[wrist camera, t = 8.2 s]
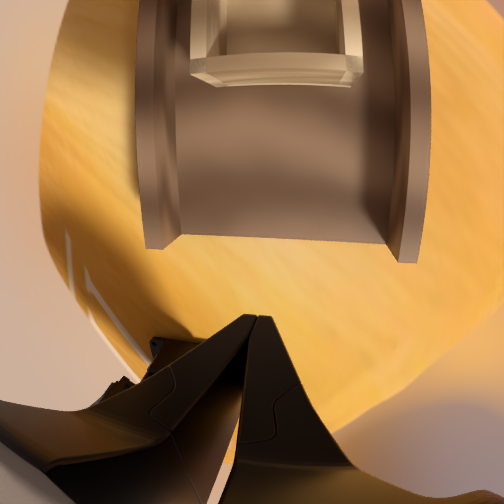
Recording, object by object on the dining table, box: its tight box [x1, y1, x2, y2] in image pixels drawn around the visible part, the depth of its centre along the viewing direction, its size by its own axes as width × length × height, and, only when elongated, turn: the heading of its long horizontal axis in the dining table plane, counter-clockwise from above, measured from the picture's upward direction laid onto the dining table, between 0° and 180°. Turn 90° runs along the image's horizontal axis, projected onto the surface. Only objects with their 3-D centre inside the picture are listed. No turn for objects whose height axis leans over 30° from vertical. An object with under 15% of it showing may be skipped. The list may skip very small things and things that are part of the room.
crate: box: [190, 0, 364, 88], centre depth 13 cm, size 7×8×4 cm
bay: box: [135, 0, 431, 263], centre depth 14 cm, size 18×16×6 cm
